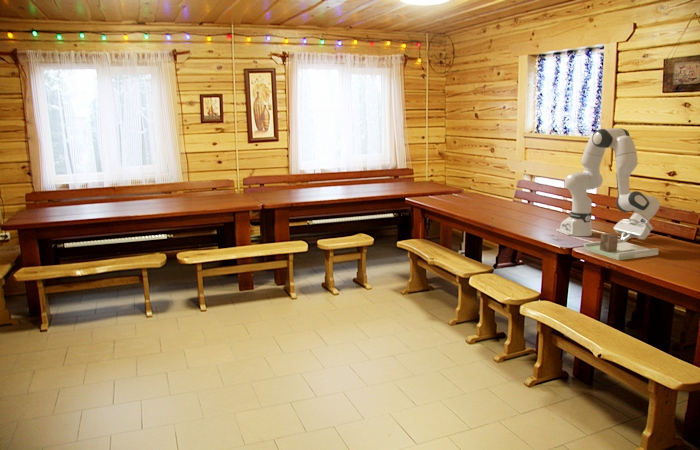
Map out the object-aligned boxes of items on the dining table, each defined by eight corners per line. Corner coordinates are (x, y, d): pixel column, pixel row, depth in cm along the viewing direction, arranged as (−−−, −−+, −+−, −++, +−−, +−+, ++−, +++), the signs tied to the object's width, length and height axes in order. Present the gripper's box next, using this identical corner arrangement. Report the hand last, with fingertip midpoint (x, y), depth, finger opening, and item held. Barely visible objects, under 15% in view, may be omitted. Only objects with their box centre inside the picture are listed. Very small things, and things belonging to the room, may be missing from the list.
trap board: (583, 249, 326) (584, 243, 325) (621, 244, 336) (622, 238, 335) (618, 260, 303) (618, 253, 303) (658, 254, 313) (658, 248, 313)
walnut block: (599, 249, 317) (601, 233, 315) (608, 248, 319) (609, 232, 317) (608, 252, 311) (609, 236, 310) (616, 251, 314) (618, 235, 312)
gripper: (620, 214, 328) (605, 233, 327) (650, 221, 310) (634, 241, 308) (625, 221, 331) (610, 240, 330) (655, 229, 312) (640, 248, 311)
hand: (622, 240), depth 319 cm, fingers closed
